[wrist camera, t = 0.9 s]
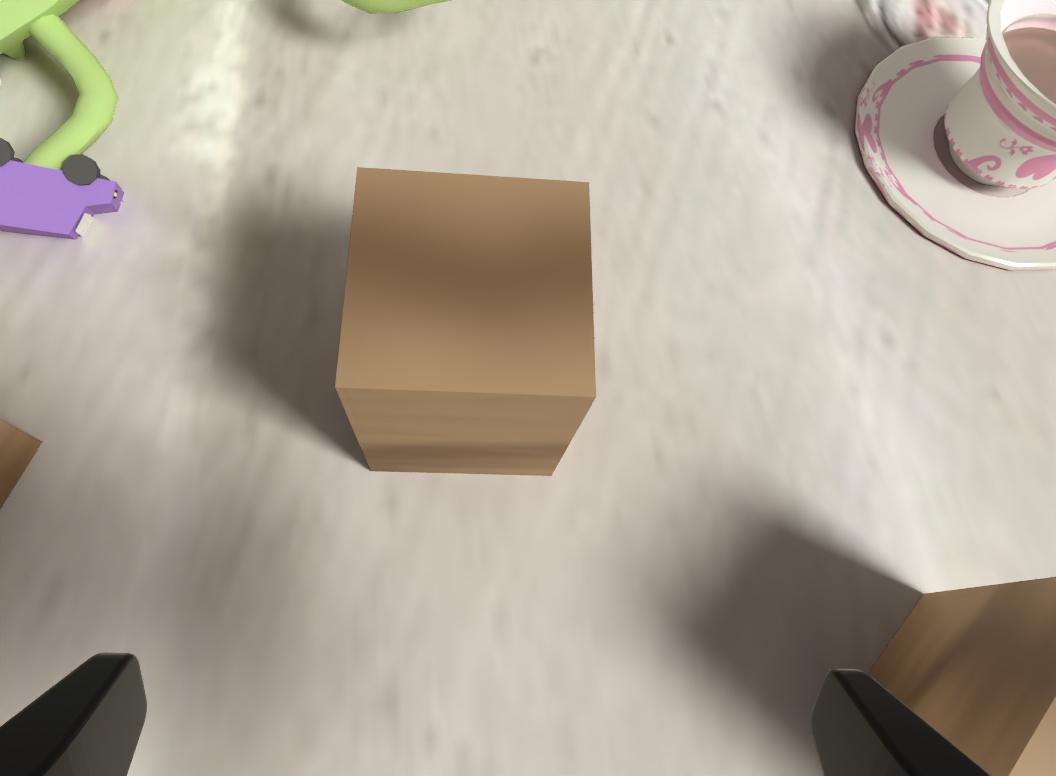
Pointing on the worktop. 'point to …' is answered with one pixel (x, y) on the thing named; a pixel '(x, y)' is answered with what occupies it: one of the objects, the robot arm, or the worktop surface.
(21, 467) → the striped block
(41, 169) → the figurine
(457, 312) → the plain block
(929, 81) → the teacup
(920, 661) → the striped block
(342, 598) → the worktop surface
